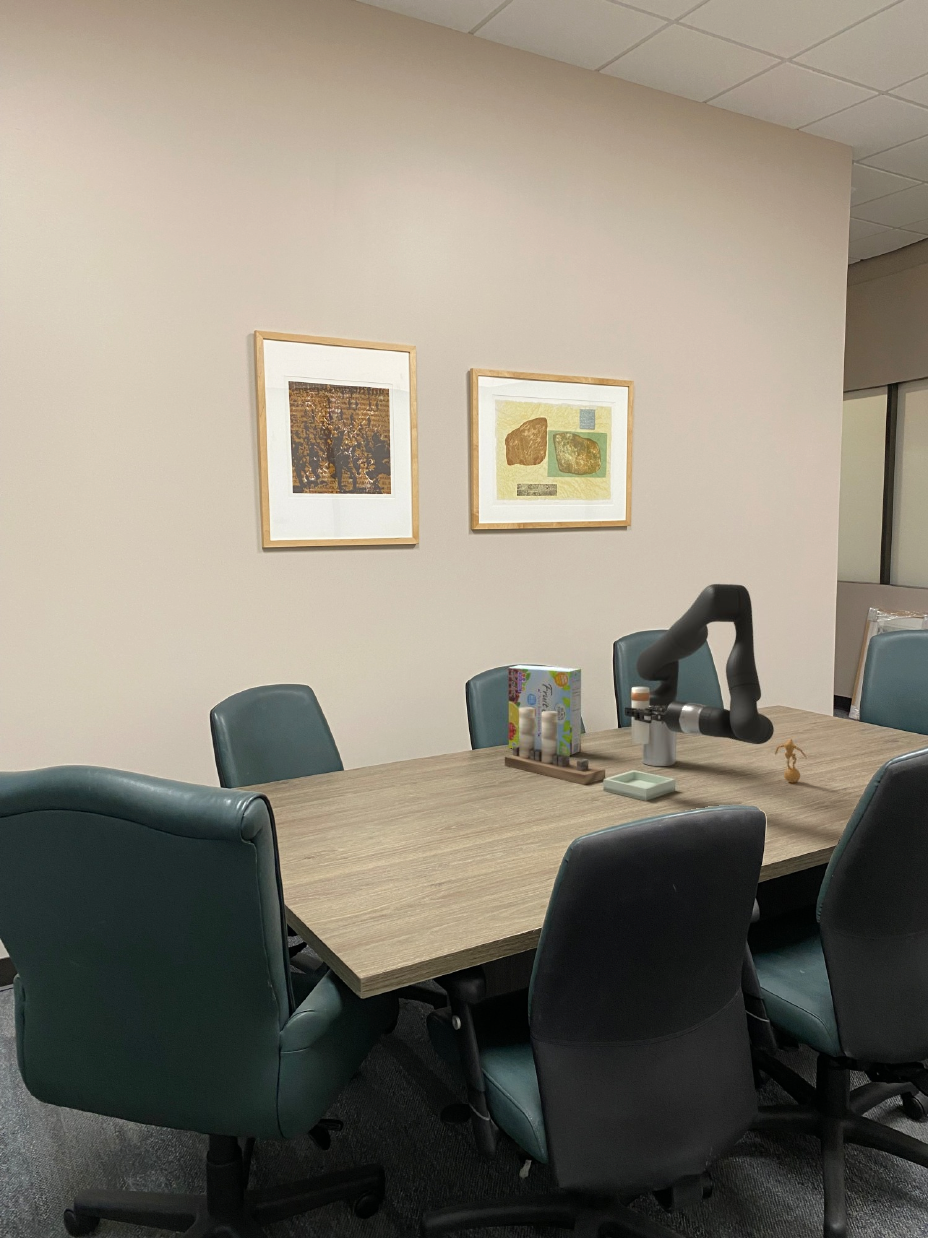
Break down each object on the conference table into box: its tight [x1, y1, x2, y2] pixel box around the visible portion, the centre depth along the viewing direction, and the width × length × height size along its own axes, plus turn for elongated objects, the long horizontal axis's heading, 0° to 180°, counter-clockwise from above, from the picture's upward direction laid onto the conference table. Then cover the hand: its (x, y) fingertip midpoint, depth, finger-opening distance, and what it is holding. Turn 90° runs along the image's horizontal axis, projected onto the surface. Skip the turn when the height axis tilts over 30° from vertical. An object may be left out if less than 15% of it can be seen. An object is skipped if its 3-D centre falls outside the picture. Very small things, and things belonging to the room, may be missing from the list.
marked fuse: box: [630, 686, 650, 745], centre depth 223 cm, size 5×5×14 cm
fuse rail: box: [504, 707, 606, 785], centre depth 244 cm, size 9×29×16 cm, turn 44°
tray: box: [602, 769, 676, 802], centre depth 225 cm, size 13×13×3 cm
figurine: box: [774, 738, 808, 784], centre depth 230 cm, size 8×6×12 cm
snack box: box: [508, 664, 582, 756], centre depth 269 cm, size 22×9×26 cm, turn 58°
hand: (631, 710), depth 225 cm, fingers closed on marked fuse, 4 cm apart
